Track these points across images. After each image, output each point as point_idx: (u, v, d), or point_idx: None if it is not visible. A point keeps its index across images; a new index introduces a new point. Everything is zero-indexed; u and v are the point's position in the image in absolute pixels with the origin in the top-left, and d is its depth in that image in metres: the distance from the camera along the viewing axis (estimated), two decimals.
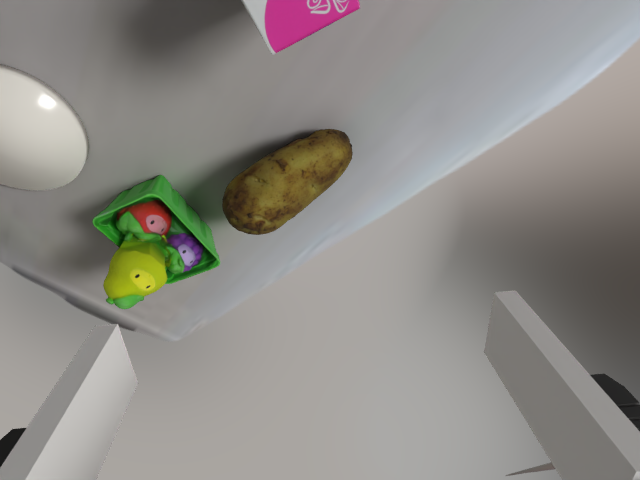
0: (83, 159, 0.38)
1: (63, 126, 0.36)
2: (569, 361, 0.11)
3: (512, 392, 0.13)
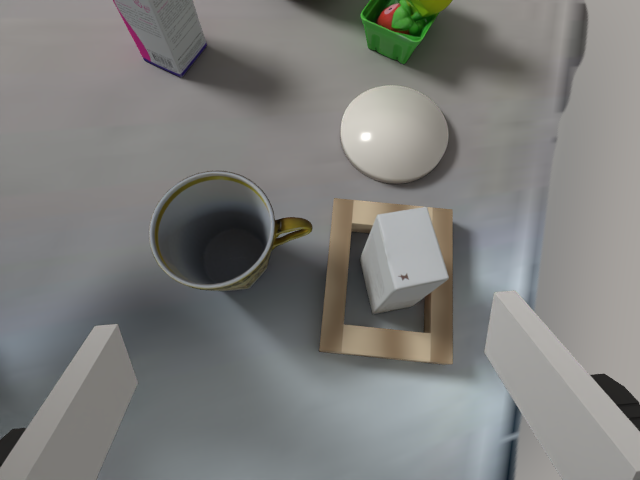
0: (383, 86, 0.47)
1: (362, 103, 0.47)
2: (569, 361, 0.11)
3: (512, 392, 0.13)
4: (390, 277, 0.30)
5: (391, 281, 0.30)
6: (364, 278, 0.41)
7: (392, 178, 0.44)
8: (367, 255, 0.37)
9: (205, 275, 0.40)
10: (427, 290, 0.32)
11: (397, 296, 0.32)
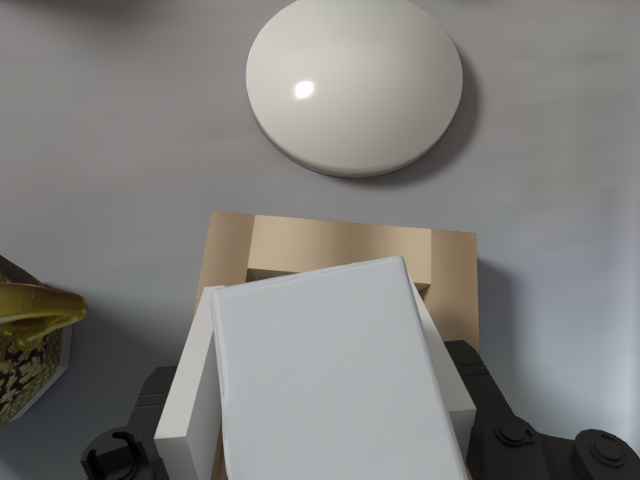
0: None
1: (291, 22, 0.24)
2: (428, 328, 0.13)
3: None
4: None
5: None
6: None
7: (347, 166, 0.21)
8: None
9: None
10: None
11: None
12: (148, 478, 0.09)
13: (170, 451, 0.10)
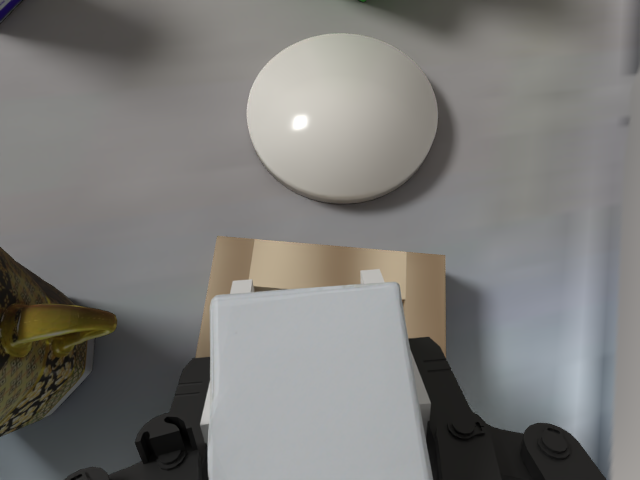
0: (324, 35, 0.28)
1: (286, 64, 0.27)
2: None
3: None
4: None
5: None
6: None
7: (335, 195, 0.24)
8: None
9: None
10: None
11: None
12: (196, 464, 0.09)
13: None
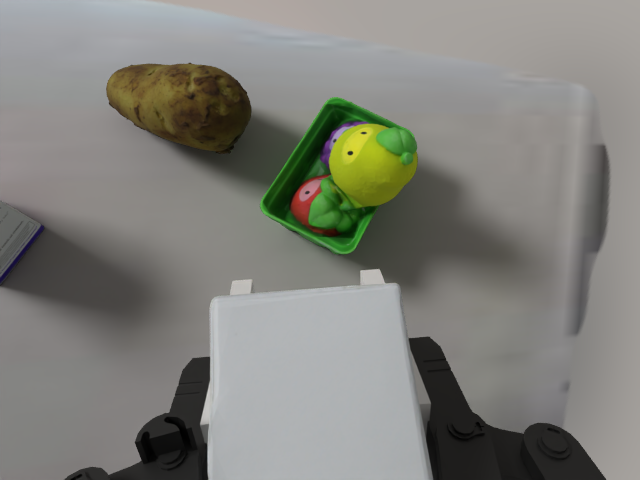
0: None
1: None
2: None
3: None
4: None
5: None
6: None
7: None
8: None
9: None
10: None
11: None
12: (196, 464, 0.09)
13: None
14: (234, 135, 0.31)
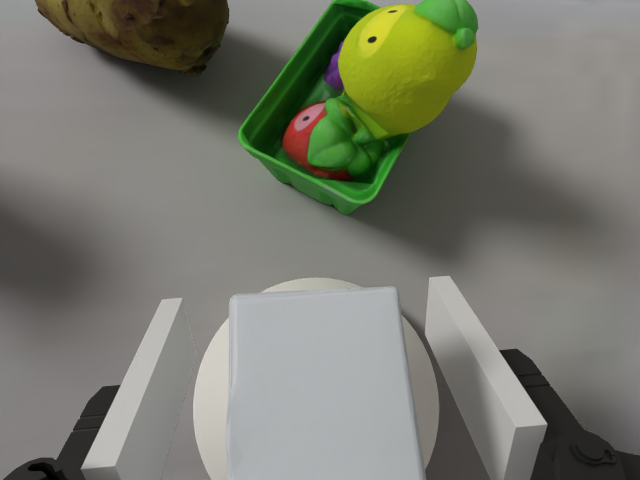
0: (296, 281, 0.22)
1: None
2: (481, 336, 0.12)
3: (442, 369, 0.14)
4: None
5: None
6: None
7: None
8: None
9: None
10: None
11: None
12: None
13: None
14: (203, 42, 0.22)
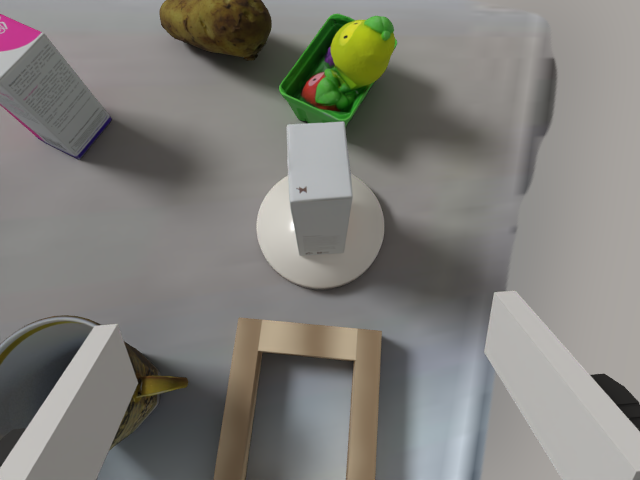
0: None
1: (283, 190, 0.39)
2: (569, 361, 0.11)
3: (512, 392, 0.13)
4: None
5: (289, 194, 0.27)
6: None
7: (314, 286, 0.37)
8: None
9: None
10: (338, 217, 0.29)
11: (303, 219, 0.29)
12: None
13: None
14: (259, 41, 0.41)
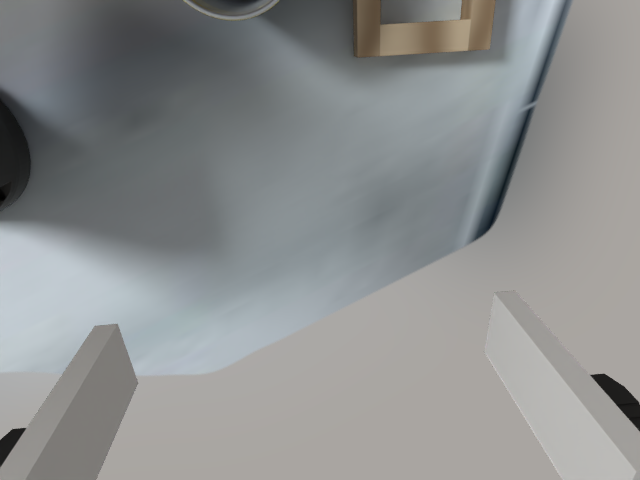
0: None
1: None
2: (568, 361, 0.11)
3: (512, 392, 0.13)
4: None
5: None
6: None
7: None
8: None
9: None
10: None
11: None
12: None
13: None
14: None
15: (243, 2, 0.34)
